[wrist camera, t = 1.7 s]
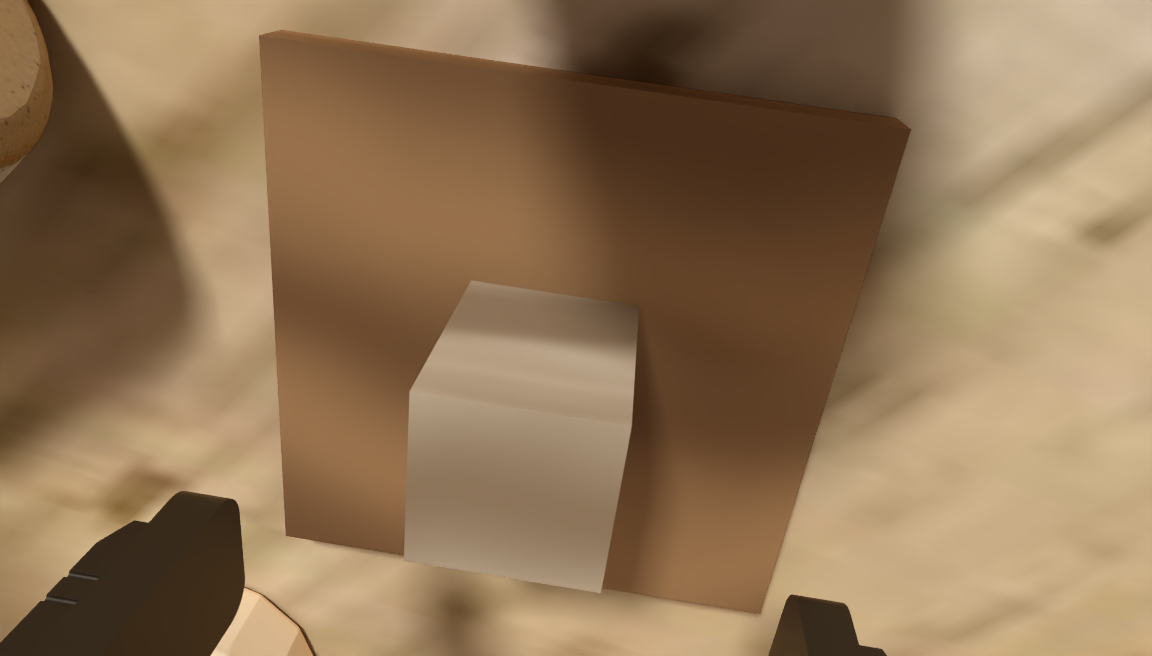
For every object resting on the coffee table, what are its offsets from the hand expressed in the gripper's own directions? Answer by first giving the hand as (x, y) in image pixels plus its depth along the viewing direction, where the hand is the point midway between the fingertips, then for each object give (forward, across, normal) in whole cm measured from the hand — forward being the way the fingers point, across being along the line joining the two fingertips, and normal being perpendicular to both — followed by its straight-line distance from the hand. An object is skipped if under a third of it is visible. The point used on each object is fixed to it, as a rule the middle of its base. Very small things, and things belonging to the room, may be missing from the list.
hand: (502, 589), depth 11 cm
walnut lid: (+8, 0, 0) cm, 8 cm away
